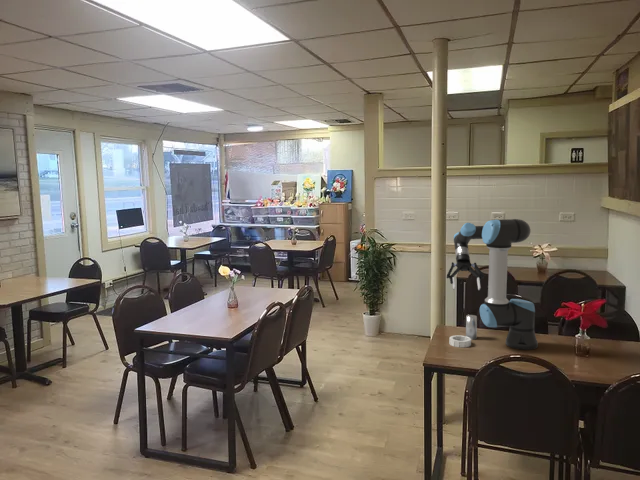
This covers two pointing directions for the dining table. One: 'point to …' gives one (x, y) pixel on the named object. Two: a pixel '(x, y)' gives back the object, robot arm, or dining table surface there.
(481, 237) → the robot arm
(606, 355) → the dining table surface
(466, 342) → the socket
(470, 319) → the metal cylinder
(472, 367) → the dining table surface
